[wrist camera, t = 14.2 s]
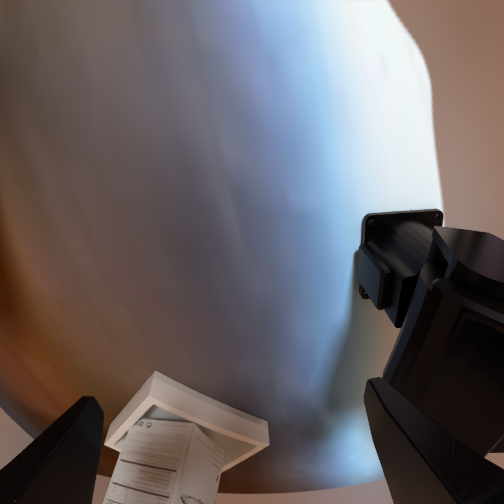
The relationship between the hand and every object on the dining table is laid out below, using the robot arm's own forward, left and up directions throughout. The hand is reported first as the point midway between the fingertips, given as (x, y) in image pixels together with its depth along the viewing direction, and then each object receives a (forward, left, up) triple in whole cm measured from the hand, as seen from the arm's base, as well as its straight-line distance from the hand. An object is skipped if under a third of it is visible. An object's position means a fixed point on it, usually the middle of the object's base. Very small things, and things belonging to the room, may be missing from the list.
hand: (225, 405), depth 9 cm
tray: (+8, +20, -13) cm, 25 cm away
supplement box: (+8, +19, -11) cm, 23 cm away
